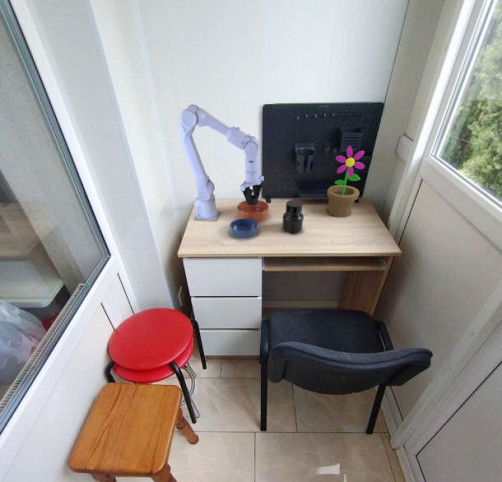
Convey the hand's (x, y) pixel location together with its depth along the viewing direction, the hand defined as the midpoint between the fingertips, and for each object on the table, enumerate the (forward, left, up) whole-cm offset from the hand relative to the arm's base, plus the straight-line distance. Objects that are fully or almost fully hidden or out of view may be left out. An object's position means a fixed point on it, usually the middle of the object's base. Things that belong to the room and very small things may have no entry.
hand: (252, 201), depth 129 cm
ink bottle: (+19, -9, -8) cm, 23 cm away
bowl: (0, +1, -8) cm, 8 cm away
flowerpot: (+41, +10, -8) cm, 43 cm away
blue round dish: (-2, -14, -8) cm, 16 cm away
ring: (0, 0, -1) cm, 1 cm away
